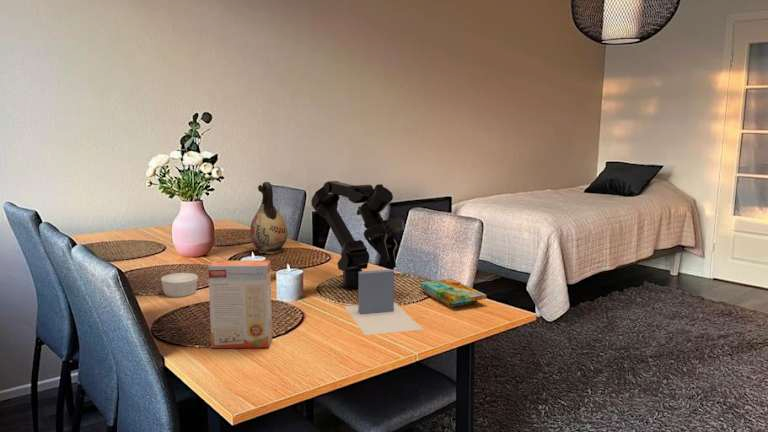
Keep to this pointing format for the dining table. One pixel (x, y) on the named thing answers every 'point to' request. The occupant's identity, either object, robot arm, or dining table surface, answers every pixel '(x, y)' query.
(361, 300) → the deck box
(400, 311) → the mat
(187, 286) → the ramekin
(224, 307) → the cracker box
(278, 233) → the ceramic jug
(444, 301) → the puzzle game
